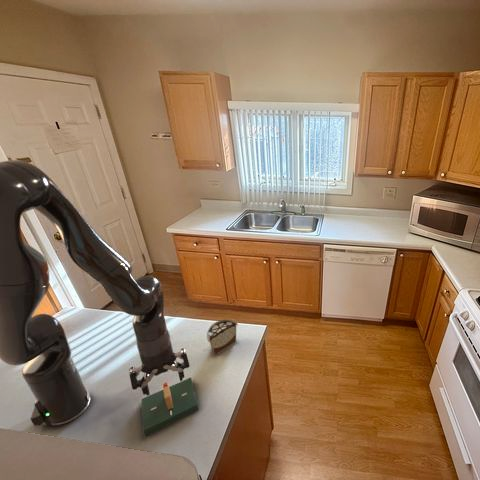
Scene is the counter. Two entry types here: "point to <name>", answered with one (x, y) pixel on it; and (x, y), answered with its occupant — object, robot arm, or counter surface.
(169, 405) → the handle
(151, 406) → the panel
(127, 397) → the counter surface
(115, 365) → the counter surface
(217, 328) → the cake slice
